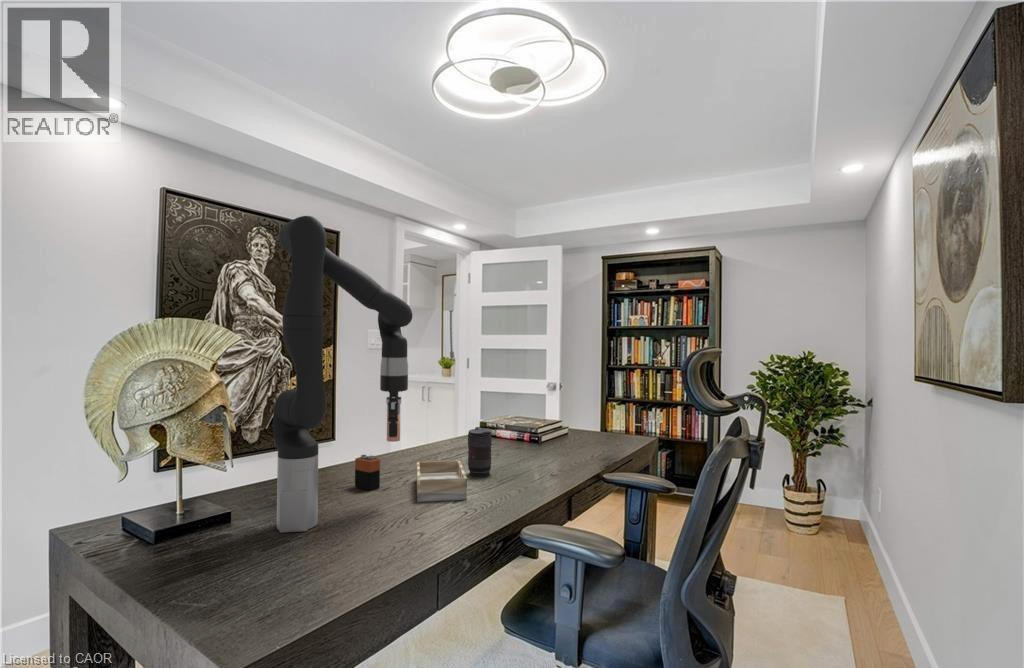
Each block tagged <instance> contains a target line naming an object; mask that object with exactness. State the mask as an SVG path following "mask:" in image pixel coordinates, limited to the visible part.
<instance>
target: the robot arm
mask: <svg viewBox="0 0 1024 668" xmlns="http://www.w3.org/2000/svg"><path fill="white" fill-rule="evenodd" d="M278 242H279V243H280V246H281V247H282V249H283V250H284V251H285V252H286V253H288V254H289V255H291V273H290V274H291V275H290V279H289V283H288V287H287V290H286V293H285V296H284V302H283V307H282V328H281V330H282V338H283V343H284V345H285V347H286V350H287V352H288V354H289V356H290V358H291V361H292V363H293V367H294V369H295V377H296V378H295V381H296V382H295V385H296V386H295V387H296V388H290V389H285V390H284V391H282V392H280V393H279V395H278V396H277V398H276V399H275V402H274V405H273V413H272V414H273V419H272V420H273V421H272V422H273V442H274V445H275V447H276V449H277V471H276V472H277V475H276V476H277V477H276V479H277V480H276V481H277V482H276V483H277V485H276V529H277V530H278V531H279V533H281V534H282V533H294V532H296V533H297V532H307V531H309V530H310V529H312V528H314V527H316V526H317V525H318V516H319V515H318V507H319V506H318V501H319V499H318V498H319V497H318V496H319V495H318V493H319V492H318V491H319V443H318V441H316V440H315V438H313V437H312V436H311V435H310V433H309V431H308V430H310V429H315V428H317V427H318V426H319V425H321V423H322V422H323V420H324V417H325V414H326V408H327V401H326V399H327V398H326V387H325V376H324V363H323V362H324V361H323V359H324V358H323V356H324V355H323V353H324V352H323V338H324V337H323V336H324V284H323V283H324V281H323V280H324V278H323V276H325V277H327V278H328V279H329V280H331V281H332V282H333V283H335V284H336V285H337V286H339V287H340V288H341V289H343V290H344V291H345V292H346V293H348V294H349V295H350V296H351V297H352V298H354V299H355V300H356V301H357V302H358V303H360V304H361V305H362V306H364V307H365V308H367V309H369V310H372V311H376V312H377V313H378V314H377V325H378V330H379V335H380V338H381V339H380V340H381V359H380V360H381V361H380V374H379V375H380V376H379V377H380V379H379V380H380V384H379V385H380V387H379V390H380V391H381V392H384V393H385V392H388V396H387V397H386V402H385V403H386V405H387V406H386V415H387V414H388V422H389V437H397V423H398V415H399V414H400V415H401V404H402V396H399V392H405V391H408V389H409V363H408V361H409V360H408V340H407V338H406V337H404V336H403V335H402V328H403V327H404V328H405V327H406V326H408V325H409V324H411V322H412V320H413V311H412V309H411V307H410V305H409V304H408V303H407V301H404V300H403V299H402V298H400V297H399V296H397V295H395V294H393V293H392V292H390V291H388V290H386V289H385V288H384V287H383V286H381V285H380V284H379V283H378V282H377V281H376V280H374V279H373V277H371V276H370V275H369V274H368V273H366V272H365V271H363V270H361V269H360V268H359V267H357V266H355V265H353V264H351V263H349V262H347V261H346V260H344V259H342V258H341V257H339V256H337V255H336V254H335V253H333V252H332V251H331V250H330V249H329V248H328V247H327V233H326V229H325V227H324V224H323V223H322V222H321V221H320V220H319V219H317V218H316V217H314V216H311V215H301V216H297V217H296V218H294V219H292V220H289V221H288V222H285V224H284V225H282V226H281V228H280V230H279V233H278ZM391 415H396V417H392V418H391Z"/></svg>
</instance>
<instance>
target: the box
mask: <svg viewBox="0 0 1024 668" xmlns="http://www.w3.org/2000/svg"><path fill="white" fill-rule="evenodd" d="M467 492H468V477H467V476H466V472H465V470H464V466H463V464H462V461H461V460H441V461H440V460H436V461H435V460H434V461H433V460H432V461H416V497H417V498H416V500H417V501H416V502H417V503H420V502H423V503H424V502H440V501H457V500H459V501H460V500H467V499H468V495H467V494H468V493H467Z"/></svg>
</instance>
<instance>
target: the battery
mask: <svg viewBox="0 0 1024 668" xmlns="http://www.w3.org/2000/svg"><path fill="white" fill-rule="evenodd" d="M380 469H381V459H380V458H378V457H376V456H375V455H374V454H373V455H368V456H367V454H361V455H360V457H357V458H355V459H354V487H355V488H356V489H360V490H364V491H368V492H370V491H373V490H376V489H380V487H381V485H380V483H381V476H380V475H381V473H380V472H381V470H380Z"/></svg>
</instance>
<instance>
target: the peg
mask: <svg viewBox="0 0 1024 668" xmlns="http://www.w3.org/2000/svg"><path fill="white" fill-rule="evenodd" d="M392 417H396V415H391V418H392ZM400 440H401V413H400V414H399V415H398V423H397V437H389V422H388V414H387V413H386V442H389V443H390V442H392V443H393V442H399V441H400Z"/></svg>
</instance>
